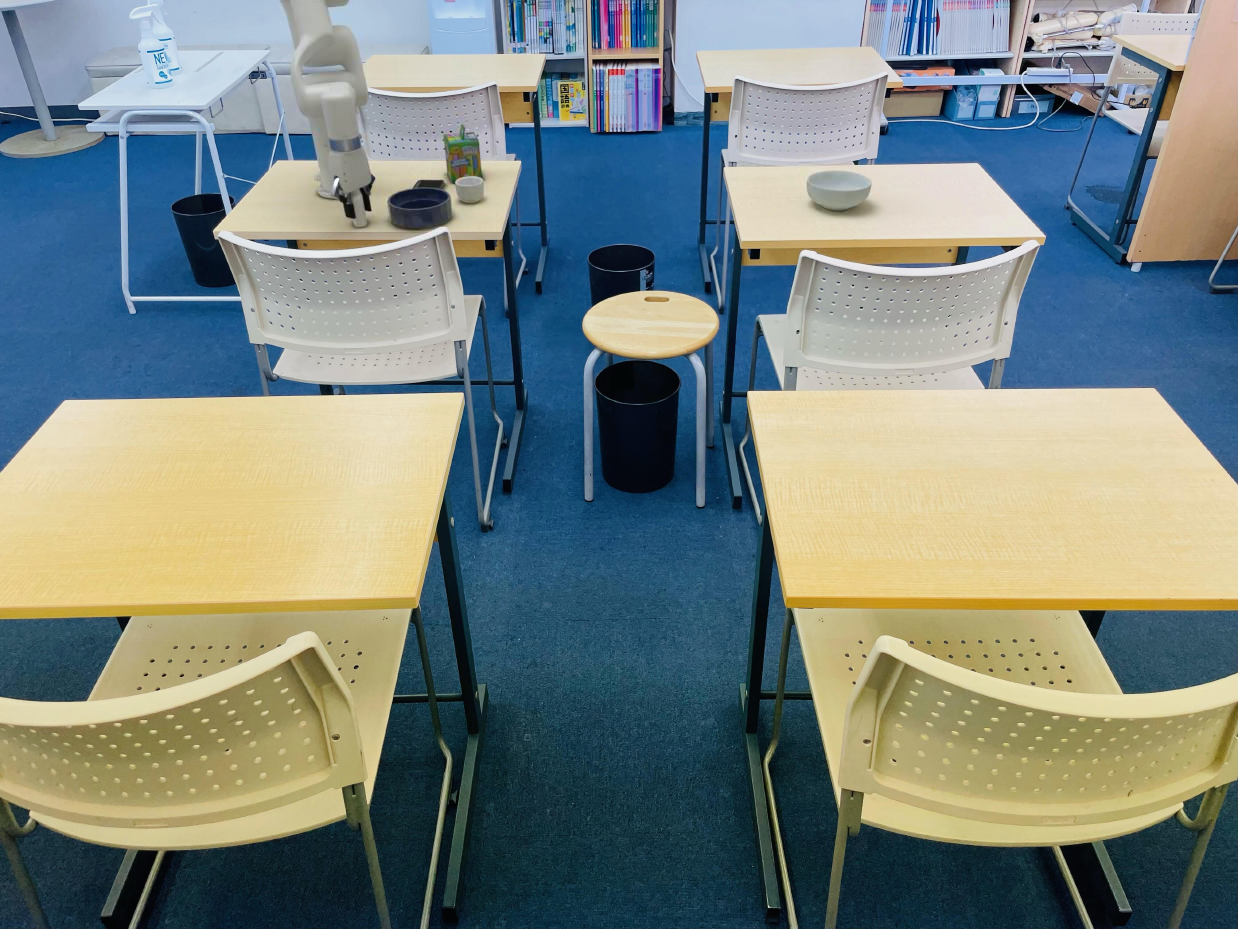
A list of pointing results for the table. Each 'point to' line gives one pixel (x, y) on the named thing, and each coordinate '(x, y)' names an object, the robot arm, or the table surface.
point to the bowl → (420, 207)
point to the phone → (430, 184)
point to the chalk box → (462, 155)
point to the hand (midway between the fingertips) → (358, 213)
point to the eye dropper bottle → (358, 209)
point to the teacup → (470, 189)
